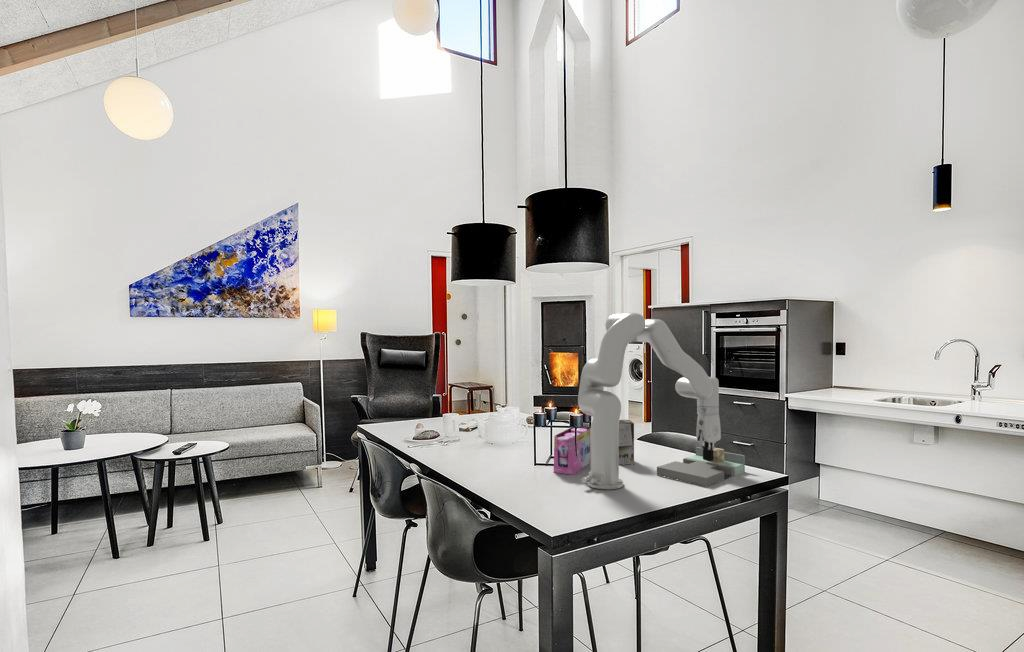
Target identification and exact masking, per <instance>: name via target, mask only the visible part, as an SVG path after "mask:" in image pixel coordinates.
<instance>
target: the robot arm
mask: <svg viewBox="0 0 1024 652" xmlns="http://www.w3.org/2000/svg"><path fill="white" fill-rule="evenodd" d="M604 325H605V330H606V332H605V334H603V337H602V340H601V342H600V347H599V351H598V357H596V358H595V357H594V358H591V359H589V360H588V361H587V362H586V363H585V364H584V366H583V367H582V371H581V375H580V380H579V387H578V388H579V389H578V395H577V406H578V408H579V410H580V411H581V412H582V413H583V414H585V415H587V416H590V417H593V419H592V421H591V424H590V427H591V428H590V463H589V466H590V467H589V468H590V469H589V471H588V475H587V476H583V477H582V478H581V482H582V484H586V485H587V486H588V487H590V488H593V489H597V490H617V489H620V488H623V487H624V481H623V480H622V479H620V478H619V477H620V476H619V474H620V471H619V469H620V468H619V467H620V465H619V439H618V433H619V420H621V419H620V418H621V412H622V403H621V400H620V398H619V397H618V396H617V395H616V394H615V393H613V392H611V391H608V390H604V389H605V388H613V387H616V386H618V385H619V384H620V382H621V379H622V375H623V368H624V360H625V354H626V348H627V347H628V345H629V343H630V342H639V343H648V344H649V345H650V346H651V348H652V350H653V351H654V353H655V354H656V356H657V358H658V359H659V361H660V362H661V363H662V365H664V366H665V367H667V368H669V369H670V370H672V371H675V372H677V373H678V374H680V375H682V377H680V378H679V379H677V380H676V383H675V387H674V388H675V391H676V393H677V394H678V395H679V396H681V397H685V398H689V399H696V407H697V408H696V414H697V417H696V418H697V419H696V440H697V441H698V445H699V446H701V448H702V449H703V460H707V461H712V460H713V450H712V449H714V448H715V444H716V443H717V442H718V441H720V440H721V439H722V432H721V431H722V430H721V428H722V427H721V419H720V413H719V412H720V410H719V409H720V408H719V407H720V405H719V404H720V403H719V402H720V401H719V399H720V398H719V397H720V396H719V395H720V393H719V392H720V388H719V386H720V384H719V383H720V382H719V379H718V378H717V377H716V376H715V377H713V376H709V375H708V374H707V372H706V370H705V369H704V367H702V366H701V365H700V364H699V363H698V362H697V361H696V360H695V359H693V357H691V356H690V355H689V354H687V353H686V352H685V351H684V350H683V348H682V347H681V346H680V344H679V343H678V341H677V339H676V337H675V336H674V334H673V333H672V331H671V330H670V328H669V326H668V325H667V323H666V322H665V321H664V320H662V319H658V318H647V319H646V318H645V317H644V316H643V315H642V314H641V313H637V312H624V313H614V314H611V315H610V316H609V317H607V319H606V320H605V324H604Z"/></svg>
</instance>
